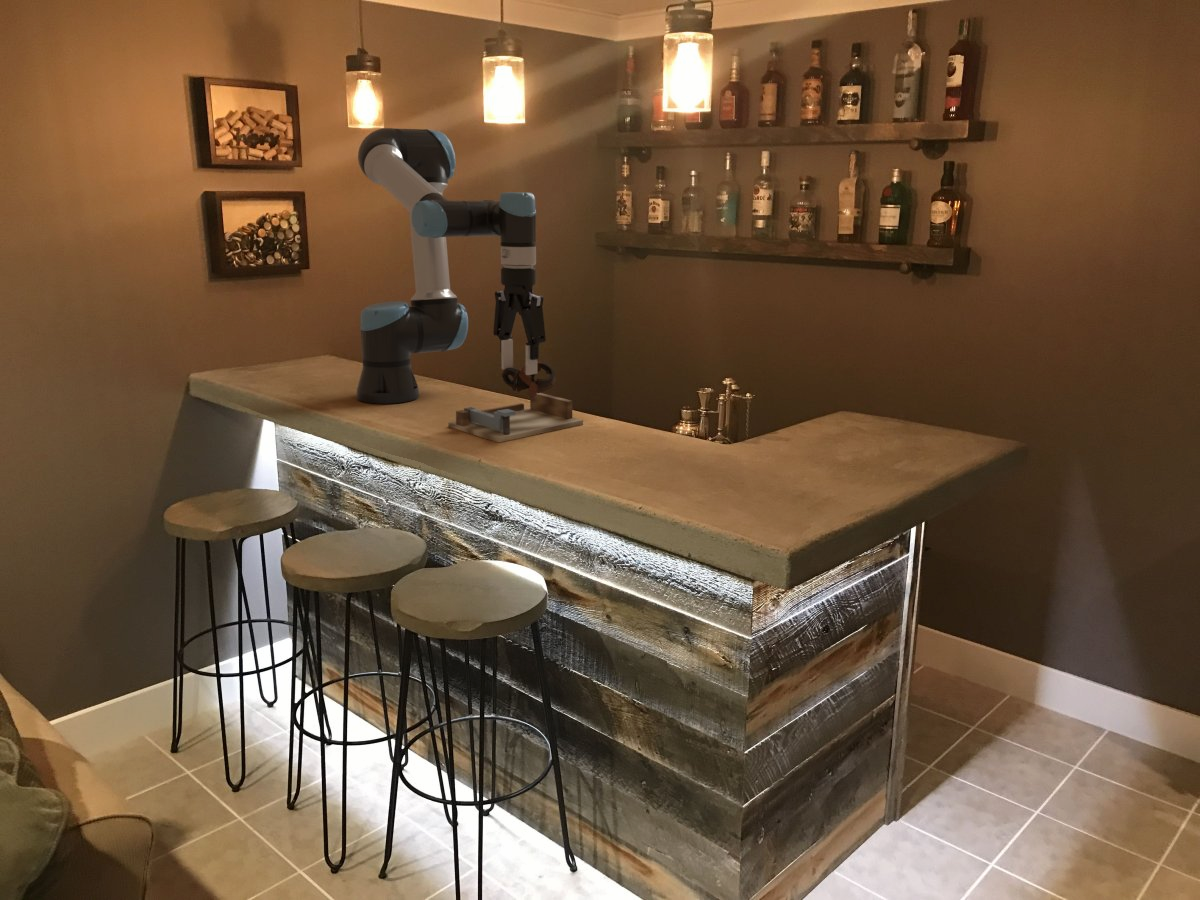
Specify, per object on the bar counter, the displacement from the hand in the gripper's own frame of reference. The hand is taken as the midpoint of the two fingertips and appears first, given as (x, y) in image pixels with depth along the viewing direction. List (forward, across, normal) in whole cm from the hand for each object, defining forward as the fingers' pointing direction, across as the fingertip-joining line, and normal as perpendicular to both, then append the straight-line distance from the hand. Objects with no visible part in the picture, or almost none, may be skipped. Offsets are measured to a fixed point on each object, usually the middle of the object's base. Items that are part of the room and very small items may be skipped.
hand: (519, 371), depth 214 cm
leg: (+11, +1, -9) cm, 14 cm away
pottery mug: (+6, 0, +3) cm, 6 cm away
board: (+12, 0, -1) cm, 12 cm away
